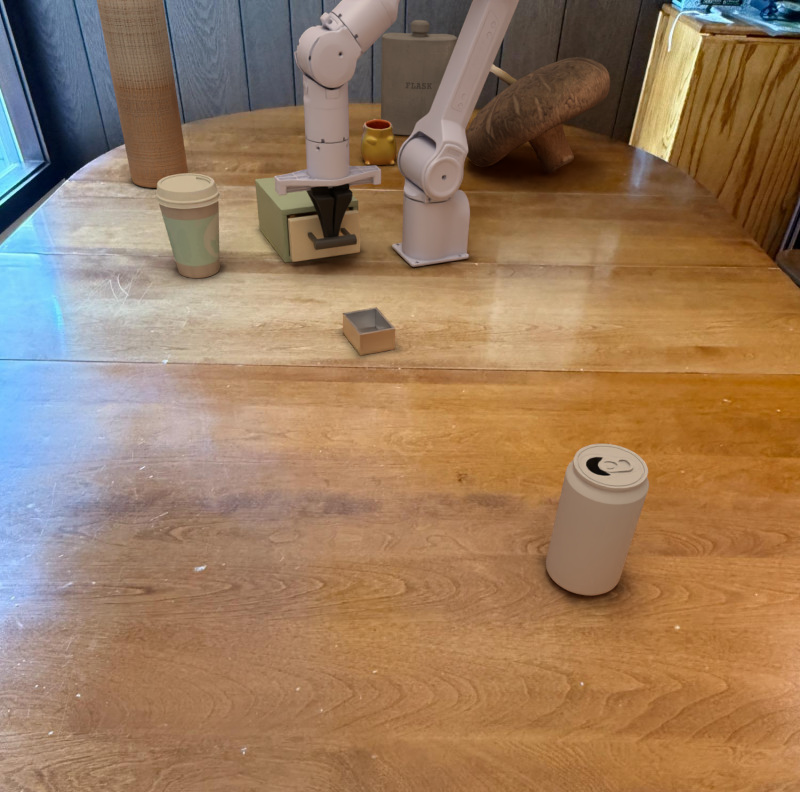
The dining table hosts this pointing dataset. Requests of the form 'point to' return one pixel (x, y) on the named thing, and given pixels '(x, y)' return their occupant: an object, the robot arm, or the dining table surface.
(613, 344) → the dining table surface
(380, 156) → the mug
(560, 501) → the beverage can
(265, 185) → the cabinet
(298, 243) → the drawer
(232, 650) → the dining table surface
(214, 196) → the coffee cup
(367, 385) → the dining table surface
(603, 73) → the brown fungus
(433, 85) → the flask
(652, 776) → the dining table surface
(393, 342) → the open box
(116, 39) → the vase
